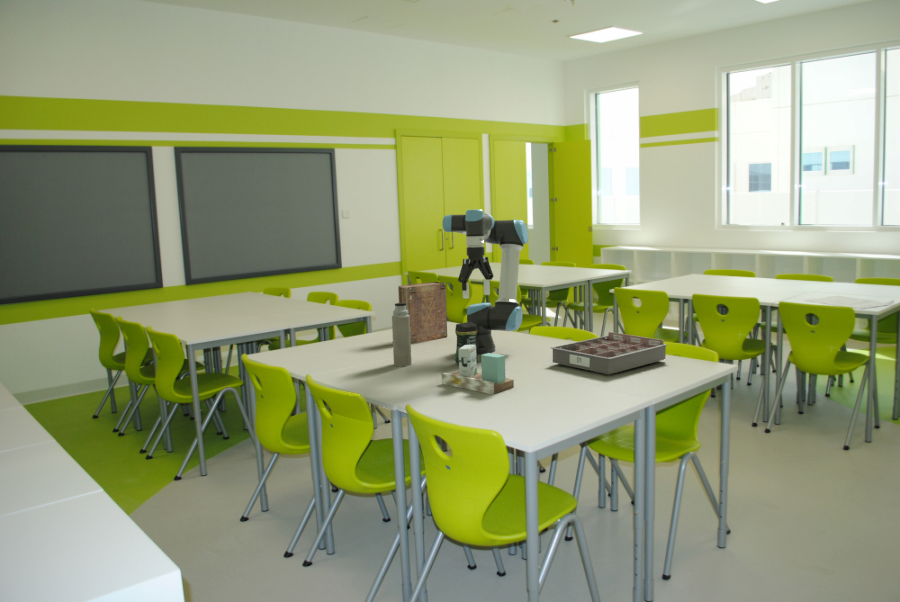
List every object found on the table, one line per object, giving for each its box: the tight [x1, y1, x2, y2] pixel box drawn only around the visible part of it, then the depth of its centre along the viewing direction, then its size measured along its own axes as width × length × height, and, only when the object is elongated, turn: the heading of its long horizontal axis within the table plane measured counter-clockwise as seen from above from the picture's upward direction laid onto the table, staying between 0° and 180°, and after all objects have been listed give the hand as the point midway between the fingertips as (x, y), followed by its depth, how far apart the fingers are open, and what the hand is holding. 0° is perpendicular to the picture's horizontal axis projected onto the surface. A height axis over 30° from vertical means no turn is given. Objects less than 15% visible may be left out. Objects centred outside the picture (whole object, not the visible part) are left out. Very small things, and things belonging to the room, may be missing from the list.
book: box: [398, 281, 448, 345], centre depth 355 cm, size 25×9×30 cm, turn 130°
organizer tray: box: [550, 331, 668, 375], centre depth 288 cm, size 32×40×10 cm
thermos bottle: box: [391, 302, 412, 367], centre depth 297 cm, size 8×8×28 cm
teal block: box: [480, 352, 506, 384], centre depth 253 cm, size 8×4×10 cm, turn 47°
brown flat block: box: [441, 371, 515, 395], centre depth 258 cm, size 26×13×4 cm, turn 47°
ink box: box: [458, 345, 478, 378], centre depth 261 cm, size 9×5×12 cm, turn 161°
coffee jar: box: [454, 321, 479, 365], centre depth 296 cm, size 10×8×19 cm
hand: (476, 296), depth 281 cm, fingers open, 13 cm apart
